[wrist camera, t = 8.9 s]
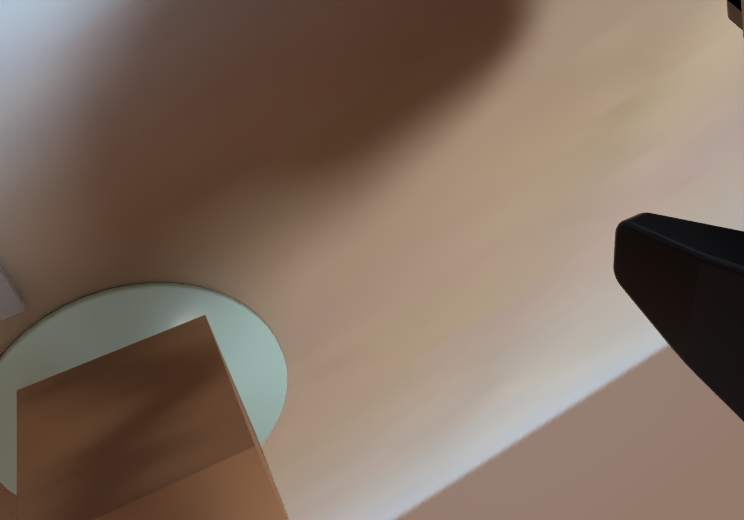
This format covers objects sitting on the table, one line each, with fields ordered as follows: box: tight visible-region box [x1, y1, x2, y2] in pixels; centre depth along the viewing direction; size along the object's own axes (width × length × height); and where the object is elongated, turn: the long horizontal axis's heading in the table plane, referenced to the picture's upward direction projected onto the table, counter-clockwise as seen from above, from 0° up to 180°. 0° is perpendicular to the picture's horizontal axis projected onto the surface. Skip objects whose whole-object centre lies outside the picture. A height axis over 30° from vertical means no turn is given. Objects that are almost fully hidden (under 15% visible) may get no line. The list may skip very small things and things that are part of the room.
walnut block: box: [17, 315, 289, 520], centre depth 21 cm, size 6×6×6 cm
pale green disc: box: [0, 283, 287, 496], centre depth 23 cm, size 10×10×1 cm
